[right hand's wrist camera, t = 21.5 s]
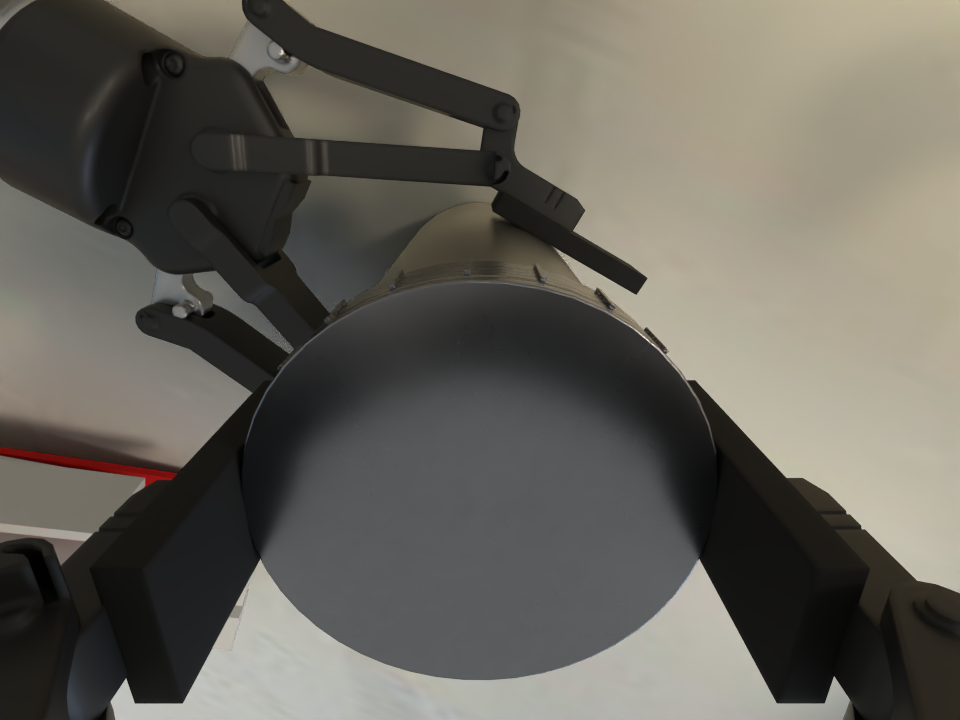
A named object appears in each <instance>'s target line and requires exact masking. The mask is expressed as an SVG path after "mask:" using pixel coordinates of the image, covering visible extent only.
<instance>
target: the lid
mask: <svg viewBox="0 0 960 720" xmlns="http://www.w3.org/2000/svg"><path fill="white" fill-rule="evenodd" d="M668 352H669V350H668V349H667V348H666V347H665V346H664V345H663V344H662V343H661V342H660V341H659V340H658V338H657V337H656V336H655V335H654V334H653V333H652V332H651V331H650V330H649V329H648V328H647V327H646V328H645V329H644V330H643V329H642V328H641V327H640V326H639V325H638V324H637V322H636V321H635V320H634V319H632V318H631V317H630V316H629V315H628V314H626V313H625V312H624V311H623V310H622V309H620V308H619V307H618V306H617V305H616V304H614V303H613V302H612V301H611V300H610V299H609V298H608V297H607V296H606V295H605V293H604V292H603V291H602V290H601V289H599V288H597V289H596V290H595V291H594V290H592V289H591V288H589V287H587V286H585V285H583V284H580V283H578V282H576V281H574V280H571V279H569V278H567V277H565V276H562V275H560V274H557V273H553V272H550V271H546V270H543V269H542V268H541V266H540V264H537V263H534V267H532V266H527V265H520V264H514V263H507V262H500V261H471V257H465V261H463V262H454V263H445V264H437V265H433V266H429V267H425V268H421V269H417V270H413V271H409V272H406V273H404V271H403V270H399V271H398V272H397V273H396V275H395V276H394V277H393V278H391V279H388V280H386V281H383V282H381V283H378V284H377V285H375V286H373V287H371V288H370V289H368V290H366V291H364V292H363V293H361V294H359V295H357V296H355V297H354V298H352V299H351V300H350V301H348V302H347V303H346V302H345V300H342V301H341V302H340V303H339V304H338V305H337V306H336V307H335V308H334V309H333V311H332V312H331V313H330V314H329V315H328V316H327V317H326V318H325V319H324V323H323V324H322V325H321V326H320V327H319V328H318V329H317V330H316V331H315V332H314V333H313V334H312V335H311V336H310V337H309V338H308V339H307V340H306V341H305V343H304V344H303V345H302V344H301V343H300V344H299V345H298V346H297V347H296V348H295V349H294V350H293V351H292V352H291V353H290V354H289V355H288V357H287V358H286V359H285V360H284V361H283V362H282V363H281V364H280V365H279V367H278V368H277V369H278V370H279V373H278V374H277V376H276V377H275V378H274V380H273V381H272V383H271V384H270V385H269V387H268V388H267V390H266V392H265V394H264V396H263V398H262V400H261V402H260V404H259V406H258V408H257V410H256V412H255V414H254V416H253V419H252V422H251V425H250V429H249V432H248V435H247V438H246V441H245V447H244V454H243V461H242V468H241V477H242V497H243V502H244V507H245V512H246V518H247V523H248V527H249V532H250V535H251V538H252V541H253V544H254V547H255V549H256V551H257V552H258V554H259V556H260V558H261V560H262V562H263V564H264V566H265V568H266V570H267V572H268V573H269V574H270V576H271V577H272V579H273V580H274V582H275V583H276V585H277V586H278V588H279V589H280V590H281V592H282V593H283V594H284V595H285V596H286V597H287V598H288V599H289V600H290V602H291V603H292V604H293V605H294V606H295V607H296V608H297V609H298V610H299V611H300V612H301V613H302V614H303V615H304V616H306V617H307V618H308V619H309V620H310V621H311V622H312V623H314V624H315V625H316V626H317V627H318V628H320V629H321V630H323V631H324V632H326V633H327V634H328V635H330V636H331V637H333V638H334V639H336V640H337V641H339V642H340V643H342V644H344V645H346V646H348V647H350V648H352V649H353V650H355V651H357V652H359V653H361V654H363V655H365V656H368V657H370V658H373V659H375V660H377V661H380V662H382V663H385V664H387V665H391V666H394V667H397V668H401V669H404V670H407V671H410V672H415V673H420V674H425V675H430V676H435V677H443V678H452V679H462V680H495V679H507V678H518V677H523V676H529V675H535V674H540V673H545V672H548V671H552V670H555V669H559V668H563V667H566V666H569V665H572V664H574V663H577V662H579V661H582V660H585V659H587V658H590V657H592V656H594V655H596V654H598V653H600V652H602V651H604V650H606V649H608V648H610V647H612V646H614V645H616V644H617V643H619V642H620V641H622V640H623V639H625V638H626V637H628V636H630V635H631V634H633V633H634V632H636V631H637V630H638V629H640V628H641V627H642V626H643V625H644V624H646V623H647V622H648V621H649V620H651V619H652V618H653V617H654V616H655V615H657V614H658V613H659V612H660V611H661V609H662V608H663V607H664V606H665V605H666V604H667V603H668V602H669V601H670V600H671V599H672V598H673V597H674V596H675V595H676V593H677V592H678V591H679V589H680V588H681V587H682V585H683V584H684V582H685V581H686V580H687V578H688V577H689V576H690V574H691V572H692V570H693V569H694V567H695V565H696V563H697V561H698V560H699V558H700V556H701V554H702V552H703V550H704V547H705V544H706V542H707V539H708V536H709V534H710V530H711V525H712V520H713V515H714V510H715V505H716V499H717V493H718V477H719V476H718V466H717V456H716V448H715V444H714V441H713V437H712V433H711V429H710V426H709V422H708V420H707V418H706V415H705V413H704V411H703V409H702V404H701V402H700V400H699V399H698V398H697V396H696V394H695V393H694V391H693V389H692V388H691V386H690V385H689V383H688V382H687V380H686V379H685V377H684V376H683V374H682V373H681V371H680V370H679V369H678V368H677V367H676V366H675V364H674V363H673V362H672V361H671V360H670V359H669V358H668V357H667V356H666V353H668Z"/></svg>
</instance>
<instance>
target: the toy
mask: <svg viewBox="0 0 960 720" xmlns="http://www.w3.org/2000/svg"><path fill="white" fill-rule="evenodd" d="M177 474H178V473H173V472H166V471H159V470H153V469H146V468H139V467H133V466H126V465H119V464H112V463H106V462H99V461H92V460H86V459H79V458H72V457H66V456H59V455H52V454H45V453H39V452H32V451H25V450H19V449H12V448H5V447H0V543H2V542H5V541H10V540H16V539H22V538H41V539H45V540H47V541H48V542H50V543H51V544H53V546H54V549H55V551H56V554H57V557H58V560H59V562H60V565H62V564H63V563H64V562H65V561H66V560H67V559H68V558H69V557H70V556H71V555H72V554H73V553H74V552H75V551H76V550H77V549H78V548H79V547H80V546H81V545H82V544H83V543H84V542H85V541H86V540H87V539H88V538H89V537H90V536H91V535H92V534H93V533H94V532H98V531H99V527H100V526H101V525H102V524H103V523H104V522H105V521H106V520H107V519H108V518H109V517H110V516H114V512H115V511H116V510H117V509H118V508H119V507H120V506H121V505H122V504H123V503H124V502H125V501H126V500H127V499H128V498H129V497H130V496H131V495H133V494H135V493H136V492H138V491H140V490H141V489H143V488H145V487H146V486H148V485H150V484H151V483H153V482H155V481H156V480H172V479H173V478H174V477H175V476H176V475H177ZM252 574H253V573H252ZM251 578H252V575H251V577H250V579H249V581H248V583H247V584H246V586H245V588H244V590H243V592H242V594H241V596H240V597H239V599H238V601H237V603H236V605H235V607H234V609H233V610H232V612H231V614H230V616H229V618H228V620H227V622H226V624H225V625H224V627H223V629H222V631H221V633H220V635H219V637H218V638H217V640H216V642H215V644H214V646H213V648H212V649H221V650H230V651H231V650H232V646H233V643H234V640H235V637H236V634H237V631H238V628H239V625H240V622H241V618H242V614H243V610H244V606H245V602H246V598H247V594H248V590H249V589H248V587H249V584H250V581H251Z"/></svg>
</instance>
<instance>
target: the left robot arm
mask: <svg viewBox="0 0 960 720" xmlns="http://www.w3.org/2000/svg"><path fill="white" fill-rule="evenodd" d="M242 8H243V12H244V14H245V16H246V18H247V19H248V22H247V23H246V25H245V27H244V29H243V31H242V33H241V35H240V37H239V39H238V41H237V43H236V45H235V47H234V48H233V50H232V52H231V54H230V56H229V58H225V57H204V56H201V55H199V54H197V53H195V52H193V51H191V50H190V49H188V48H186V47H184V46H183V45H181V44H179V43H177V42H176V41H174V40H172V39H171V38H169V37H167V36H165V35H164V34H162V33H160V32H158V31H157V30H155V29H153V28H151V27H150V26H148V25H146V24H144V23H143V22H141V21H139V20H137V19H136V18H134V17H132V16H130V15H129V14H127V13H125V12H124V11H122V10H120V9H118V8H117V7H115V6H113V5H111V4H110V3H108V2H106V1H104V0H0V178H1V179H2V180H3V181H5V182H6V183H7V184H9V185H10V186H12V187H14V188H16V189H18V190H20V191H22V192H24V193H26V194H28V195H30V196H32V197H34V198H36V199H38V200H40V201H42V202H44V203H46V204H48V205H50V206H52V207H54V208H56V209H58V210H60V211H62V212H64V213H66V214H68V215H70V216H72V217H74V218H76V219H78V220H80V221H82V222H84V223H86V224H88V225H90V226H92V227H95V228H97V229H99V230H102V231H104V232H107V233H109V234H112V235H115V236H117V237H120V238H122V239H125V240H127V241H128V242H130V243H131V244H133V245H134V246H135V247H136V248H138V249H139V250H140V251H141V252H142V253H143V255H144V256H145V257H146V258H147V259H148V261H149V262H150V263H151V264H152V265H153V266H155V267H156V268H157V272H156V278H155V285H154V291H153V297H152V302H151V304H150V305H149V306H146V307H144V308H142V309H141V310H139V311H138V312H137V314H136V317H135V319H136V324H137V326H138V328H139V329H140V330H141V331H142V332H143V333H145V334H147V335H149V336H152V337H155V338H158V339H161V340H164V341H167V342H170V343H173V344H176V345H179V346H182V347H185V348H188V349H190V350H192V351H193V352H195V353H196V354H198V355H199V356H200V357H202V358H203V359H205V360H206V361H208V362H209V363H211V364H212V365H213V366H215V367H216V368H218V369H219V370H221V371H222V372H224V373H225V374H226V375H228V376H229V377H231V378H232V379H234V380H235V381H237V382H238V383H239V384H241V385H242V386H244V387H245V388H247V389H248V390H250V391H251V392H252V393H253V392H254V391H255V390H256V389H257V388H258V387H259V386H260V385H261V384H262V383H263V381H264V380H274V378H275V377H276V376H277V374H278V373H279V370H278V369H277V368H278V367H279V365H280V364H281V363H282V362H283V361H284V360H285V359H286V358H287V357H288V355H289V354H288V353H287V352H286V351H284V350H283V349H282V348H280V347H279V346H277V345H276V344H275V343H273V342H272V341H271V340H269V339H268V338H266V337H265V336H264V335H262V334H261V333H260V332H258V331H257V330H255V329H254V328H253V327H251V326H250V325H249V324H247V323H246V322H244V321H243V320H242V319H240V318H239V317H237V316H236V315H234V314H233V313H231V312H229V311H228V310H226V309H224V308H222V307H220V306H217V305H215V304H213V295H212V294H211V293H210V292H208V291H204V290H203V289H201V288H200V287H199V286H198V285H197V284H196V283H195V281H194V279H193V273H200V272H209V271H217V272H218V273H219V274H220V275H221V276H222V277H223V279H224V280H225V281H226V282H227V283H228V284H229V285H230V286H231V287H232V289H233V290H234V291H235V292H236V293H237V294H238V295H239V296H240V297H241V298H242V299H243V300H244V301H246V302H248V303H251V304H254V305H255V306H256V307H258V309H259V310H260V311H261V312H262V313H263V314H264V315H265V316H266V317H267V319H268V320H269V321H270V322H271V323H272V324H273V325H274V326H275V328H276V329H277V330H278V331H279V332H280V333H281V334H282V335H283V337H284V338H285V339H286V340H287V341H288V342H289V343H290V344H291V346H292V347H293V348H294V349H295V348H296V347H297V346H298V345H299V344H300V343H301V344H302V345H303V344H304V343H305V341H306V340H307V339H308V338H309V337H310V336H311V335H312V334H313V333H314V332H315V331H316V330H317V329H318V328H319V327H320V326H321V325H322V324H323V323H324V319H325V318H326V317H327V316H328V315H329V314H330V313H329V312H328V311H327V310H326V308H325V307H324V306H323V305H322V304H321V303H320V301H319V300H318V299H317V298H316V297H315V295H314V294H313V293H312V292H311V291H310V290H309V288H308V287H307V286H306V285H305V284H304V282H303V281H302V280H301V279H300V278H299V276H298V275H297V273H296V268H295V266H294V264H293V263H292V262H291V260H290V259H289V258H288V257H287V256H286V254H285V253H284V252H283V251H282V250H281V249H283V248H284V245H285V243H286V241H287V238H288V236H289V233H290V228H291V219H292V213H293V211H294V210H295V209H296V208H297V206H298V205H299V204H300V203H301V202H302V200H303V199H304V198H305V195H306V193H307V190H308V188H309V186H310V183H311V181H310V180H308V175H323V176H340V177H355V178H370V179H385V180H400V181H415V182H430V183H445V184H460V185H475V186H489V187H492V188H494V189H496V190H497V191H498V193H497V195H496V197H495V199H494V200H493V202H492V204H491V206H492V211H493V212H494V213H496V214H498V215H499V216H501V217H503V218H504V219H506V220H508V221H510V222H511V223H513V224H515V225H517V226H518V227H520V228H522V229H523V230H525V231H527V232H529V233H530V234H532V235H534V236H536V237H537V238H539V239H541V240H542V241H544V242H546V243H548V244H549V245H551V246H553V247H555V248H556V249H558V250H560V251H562V252H563V253H565V254H567V255H568V256H570V257H572V258H574V259H575V260H577V261H579V262H581V263H582V264H584V265H586V266H587V267H589V268H591V269H593V270H594V271H596V272H598V273H600V274H601V275H603V276H605V277H606V278H608V279H610V280H612V281H613V282H615V283H617V284H619V285H620V286H622V287H624V288H625V289H627V290H629V291H631V292H632V293H634V294H636V295H637V293H638V292H639V290H640V289H641V287H642V286H643V284H644V283H645V281H646V280H647V278H646V277H645V276H644V275H643V274H641V273H640V272H639V271H637V270H636V269H635V268H633V267H632V266H631V265H629V264H628V263H626V262H624V261H623V260H621V259H619V258H618V257H616V256H614V255H613V254H611V253H609V252H607V251H606V250H604V249H602V248H601V247H599V246H597V245H596V244H594V243H592V242H590V241H589V240H587V239H585V238H584V237H582V236H580V235H579V234H577V233H575V232H573V230H574V228H575V226H576V225H577V223H578V221H579V220H580V218H581V217H582V215H583V213H584V212H585V210H584V208H583V207H582V205H581V204H580V203H579V201H578V200H577V199H576V198H574V197H572V196H571V195H569V194H568V193H566V192H564V191H563V190H561V189H559V188H558V187H556V186H554V185H553V184H551V183H549V182H548V181H546V180H544V179H543V178H541V177H539V176H538V175H536V174H534V173H533V172H531V171H529V170H528V169H526V168H524V167H523V166H522V165H521V164H520V163H519V162H518V160H517V158H516V156H515V152H514V143H515V137H516V132H517V126H518V120H519V118H520V107H519V104H518V102H517V101H516V99H515V98H514V97H512V96H510V95H509V94H506V93H503V92H500V91H497V90H495V89H492V88H489V87H486V86H483V85H480V84H478V83H475V82H472V81H469V80H466V79H463V78H460V77H458V76H455V75H452V74H449V73H446V72H443V71H440V70H438V69H435V68H432V67H429V66H426V65H423V64H421V63H418V62H415V61H412V60H409V59H406V58H403V57H401V56H398V55H395V54H392V53H389V52H386V51H383V50H381V49H378V48H375V47H372V46H369V45H366V44H364V43H361V42H358V41H355V40H352V39H349V38H346V37H344V36H341V35H338V34H335V33H332V32H329V31H326V30H324V29H321V28H318V27H316V26H315V25H313V24H312V23H311V22H310V21H308V20H307V19H306V18H305V17H304V16H302V15H301V14H300V13H299V12H297V11H296V10H295V9H294V8H292V7H291V6H290V5H289V4H287V3H286V2H285V1H283V0H242ZM307 65H310V66H312V67H314V68H316V69H318V70H320V71H322V72H324V73H326V74H329V75H331V76H333V77H336V78H338V79H341V80H344V81H347V82H350V83H353V84H356V85H359V86H362V87H365V88H368V89H370V90H373V91H376V92H379V93H382V94H385V95H388V96H391V97H394V98H397V99H400V100H403V101H406V102H409V103H411V104H414V105H417V106H420V107H423V108H426V109H429V110H432V111H435V112H438V113H441V114H444V115H447V116H449V117H452V118H455V119H458V120H461V121H464V122H467V123H470V124H473V125H476V126H479V127H482V128H484V129H483V135H482V142H481V149H480V151H478V150H463V149H448V148H434V147H419V146H405V145H390V144H375V143H361V142H346V141H332V140H317V139H303V138H294V136H293V135H292V133H291V131H290V129H289V127H288V125H287V124H286V122H285V120H284V118H283V116H282V114H281V113H280V111H279V109H278V107H277V105H276V103H275V102H274V100H273V98H272V96H271V94H270V93H269V91H268V89H267V87H266V85H265V83H264V82H263V79H264V77H265V76H266V75H267V74H269V73H270V72H275V71H276V72H281V73H283V74H286V75H288V76H298V75H300V74H301V73H303V72H304V70H305V69H306V67H307Z"/></svg>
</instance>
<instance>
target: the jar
mask: <svg viewBox="0 0 960 720" xmlns="http://www.w3.org/2000/svg"><path fill="white" fill-rule="evenodd" d="M491 204H492V203H482V202H477V203H467V204H462V205H457V206H455V207H452V208H449V209H447V210H445V211H443V212H441V213H439V214H437V215H436V216H434V217H433V218H432V219H430V220H429V221H428V222H427V223H426V224H425V225H424V226H422V227H421V229H420V230H419V231H418V232H417V233H416V235H415V236H414V237H413V239H412V240H411V241H410V243H409V244H408V245H407V246H406V248H405V249H404V250H403V252H402V253H401V254H400V256H399V257H398V258H397V260H396V261H395V262H394V264H393V265H392V266H391V267H390V269H389V270H388V271H387V273H386V274H385V275H384V277H383V278H382V279H381V281H380V282H379V283H381V282H383V281H386V280H388V279H391V278H393V277H394V276H395V275H396V273H397V272H398V271H399V270H403V271H404V273H406V272H409V271H413V270H417V269H421V268H425V267H429V266H433V265H437V264H445V263H454V262H463V261H465V257H471V261H500V262H507V263H514V264H520V265H527V266H532V267H534V263H537V264H540V266H541V268H542V269H543V270H546V271H550V272H553V273H557V274H560V275H562V276H565V277H567V278H569V279H571V280H574V281H576V282H578V283H580V284H581V282H580V281H579V280H578V278H577V277H576V276H575V274H574V273H573V272H572V270H571V269H570V268H569V266H568V265H567V264H566V263H565V261H564V260H563V259H562V257H561V256H560V255H559V253H558V252H557V251H556V249H555V248H554V247H553V246H551V245H549V244H548V243H546V242H544V241H542V240H541V239H539V238H537V237H536V236H534V235H532V234H530V233H529V232H527V231H525V230H523V229H522V228H520V227H518V226H517V225H515V224H513V223H511V222H510V221H508V220H506V219H504V218H503V217H501V216H499V215H498V214H496V213H494V212H493V211H492V206H491Z"/></svg>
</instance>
